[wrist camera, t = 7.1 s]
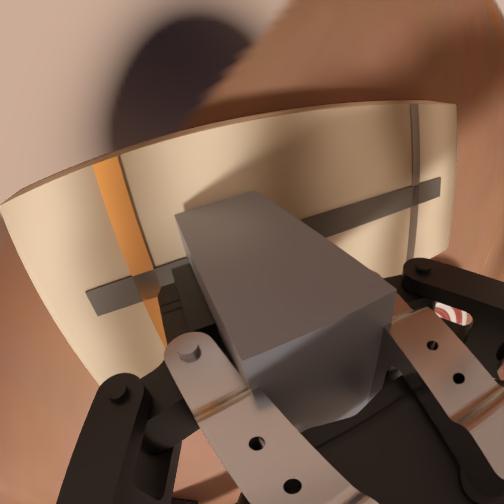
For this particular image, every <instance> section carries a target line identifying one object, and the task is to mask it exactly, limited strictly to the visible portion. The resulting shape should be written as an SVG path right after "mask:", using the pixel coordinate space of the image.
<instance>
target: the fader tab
mask: <svg viewBox="0 0 504 504" xmlns="http://www.w3.org/2000/svg"><path fill="white" fill-rule="evenodd" d="M174 216H175V220H176V223H177V226H178V230H179V233H180V237H181V240H182V243H183V247H184V250H185V253H186V257H187V260H188V263H190V265H191V267H192V269H193V272H194V274H195V277H196V279H197V281H198V284H199V286H200V288H201V291H202V293H203V295H204V298H205V300H206V302H207V305H208V307H209V309H210V311H211V314H212V316H213V318H214V320H215V322H216V325H217V328H218V331H219V334H220V337H221V340H222V343H223V346H224V349H225V352H226V355H227V358H228V360H229V361H230V362H231V363H232V365H233V366H234V367H235V369H236V370H237V371H238V372H239V374H240V375H241V377H242V379H243V381H244V383H245V385H246V387H249V388H250V390H251V391H252V390H254V389H257V388H260V389H261V390H262V391H263V392H264V394H265V395H266V396H267V397H268V398H269V399H270V400H271V402H272V403H273V404H274V405H275V406H276V407H277V408H278V409H279V411H280V412H281V413H282V414H283V415H284V416H285V417H286V418H287V419H288V421H289V422H290V423H291V424H292V425H293V426H294V427H295V428H296V429H297V430H298V431H299V432H300V433H301V432H303V431H305V430H307V429H309V428H312V427H316V426H320V425H324V424H327V423H331V422H335V421H338V420H342V419H345V418H349V417H352V416H354V415H356V414H357V413H358V412H359V411H360V410H361V409H362V408H364V407H365V406H366V405H367V403H368V399H369V395H370V391H371V387H372V382H373V378H374V373H375V369H376V364H377V359H378V354H379V349H380V344H381V338H382V332H383V327H384V326H386V325H388V324H390V323H392V317H393V311H394V305H395V298H396V291H397V289H396V288H394V287H393V286H392V285H390V284H389V283H388V282H386V281H385V280H384V279H382V278H381V277H380V276H378V275H377V274H376V273H374V272H373V271H371V270H370V269H369V268H367V267H366V266H365V265H363V264H362V263H360V262H359V261H358V260H356V259H355V258H353V257H352V256H351V255H349V254H348V253H346V252H345V251H344V250H342V249H341V248H339V247H338V246H336V245H335V244H334V243H332V242H331V241H329V240H328V239H326V238H325V237H324V236H322V235H321V234H319V233H318V232H316V231H315V230H313V229H312V228H310V227H309V226H308V225H306V224H305V223H303V222H302V221H300V220H299V219H297V218H296V217H294V216H293V215H291V214H290V213H288V212H287V211H285V210H284V209H282V208H281V207H279V206H278V205H276V204H275V203H273V202H272V201H270V200H268V199H267V198H265V197H264V196H262V195H261V194H259V193H258V192H256V191H252V192H248V193H245V194H241V195H238V196H234V197H231V198H227V199H224V200H220V201H217V202H214V203H210V204H207V205H204V206H200V207H197V208H194V209H191V210H187V211H184V212H181V213H178V214H175V215H174Z"/></svg>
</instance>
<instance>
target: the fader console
mask: <svg viewBox="0 0 504 504" xmlns="http://www.w3.org/2000/svg"><path fill="white" fill-rule="evenodd" d="M456 168H457V107H456V104H451V103H444V102H436V101H428V100H390V101H366V102H351V103H339V104H328V105H318V106H310V107H302V108H294V109H287V110H280V111H274V112H268V113H262V114H256V115H250V116H245V117H240V118H235V119H230V120H225V121H220V122H216V123H211V124H207V125H203V126H199V127H195V128H191V129H187V130H183V131H179V132H175V133H171V134H168V135H164V136H161V137H157V138H154V139H150V140H147V141H144V142H141V143H137V144H134V145H131V146H128V147H125V148H122V149H119V150H116V151H113V152H110V153H107V154H105V155H102V156H99V157H96V158H93V159H91V160H88V161H85V162H83V163H80V164H78V165H76V166H73V167H70V168H68V169H66V170H63V171H60V172H58V173H56V174H53V175H51V176H49V177H47V178H44V179H42V180H40V181H38V182H35V183H33V184H31V185H29V186H27V187H25V188H23V189H21V190H19V191H18V192H16V193H15V194H14V195H12V196H11V197H10V198H8V199H7V200H6V201H5V202H3V203H2V204H1V205H0V211H1V213H2V216H3V219H4V221H5V224H6V226H7V229H8V231H9V233H10V236H11V238H12V241H13V243H14V245H15V247H16V249H17V252H18V254H19V256H20V258H21V260H22V262H23V264H24V266H25V268H26V270H27V272H28V274H29V276H30V278H31V280H32V282H33V284H34V286H35V288H36V290H37V291H38V293H39V295H40V297H41V299H42V300H43V302H44V304H45V306H46V307H47V309H48V311H49V312H50V314H51V316H52V317H53V319H54V321H55V322H56V324H57V326H58V327H59V329H60V330H61V332H62V333H63V335H64V336H65V338H66V339H67V341H68V342H69V344H70V345H71V347H72V348H73V350H74V351H75V353H76V354H77V356H78V357H79V358H80V360H81V361H82V363H83V364H84V365H85V367H86V368H87V369H88V371H89V372H90V373H91V375H92V376H93V377H94V379H95V380H96V381H97V382H98V384H99V385H100V386H101V384H102V383H103V382H104V381H105V380H107V379H108V378H109V377H111V376H113V375H116V374H119V373H131V374H134V375H136V376H138V377H139V378H142V377H144V376H145V375H147V374H148V373H150V372H152V371H153V370H155V369H156V368H157V367H158V366H159V365H160V364H161V363H162V362H163V360H164V351H165V349H166V347H167V341H166V337H165V332H164V327H163V323H162V318H161V313H160V307H159V303H158V297H157V296H158V294H159V292H160V289H161V287H162V286H165V285H168V284H171V283H174V282H175V281H174V277H173V274H172V270H171V269H172V268H175V267H178V266H181V265H184V264H187V263H188V260H187V257H186V253H185V250H184V247H183V243H182V240H181V237H180V233H179V230H178V226H177V223H176V220H175V216H174V215H175V214H178V213H181V212H184V211H187V210H191V209H194V208H197V207H200V206H204V205H207V204H210V203H214V202H217V201H220V200H224V199H227V198H231V197H234V196H238V195H241V194H245V193H248V192H252V191H256V192H258V193H259V194H261V195H262V196H264V197H265V198H267V199H268V200H270V201H272V202H273V203H275V204H276V205H278V206H279V207H281V208H282V209H284V210H285V211H287V212H288V213H290V214H291V215H293V216H294V217H296V218H297V219H299V220H300V221H302V222H303V223H305V224H306V225H308V226H309V227H310V228H312V229H313V230H315V231H316V232H318V233H319V234H321V235H322V236H324V237H325V238H326V239H328V240H329V241H331V242H332V243H334V244H335V245H336V246H338V247H339V248H341V249H342V250H344V251H345V252H346V253H348V254H349V255H351V256H352V257H353V258H355V259H356V260H358V261H359V262H360V263H362V264H363V265H365V266H366V267H367V268H369V269H370V270H372V271H375V272H377V273H378V274H379V275H380V276H381V277H382V278H387V277H392V276H397V275H401V274H402V272H403V265H404V263H405V262H406V261H408V260H409V259H412V258H427V259H431V258H432V257H434V256H436V255H438V254H439V253H441V252H443V251H445V250H446V249H448V244H449V238H450V231H451V223H452V215H453V207H454V196H455V184H456Z"/></svg>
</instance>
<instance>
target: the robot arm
mask: <svg viewBox="0 0 504 504" xmlns="http://www.w3.org/2000/svg"><path fill="white" fill-rule="evenodd" d="M171 270H172V274H173V277H174V281H175V282H174V283H171V284H168V285H165V286H162V287H161V289H160V292H159V294H158V296H157V297H158V303H159V307H160V313H161V318H162V323H163V327H164V332H165V337H166V341H167V347H166V349H165V351H164V360H163V362H162V363H161V364H160V365H159V366H158V367H157V368H156V369H155V370H153V371H152V372H150V373H148V374H147V375H145V376H144V377H142V378H139V377H138V376H136V375H134V374H131V373H119V374H116V375H113V376H111V377H109V378H108V379H107V380H105V381H104V382H103V383H102V384H101V386H100V387H99V389H98V391H97V393H96V395H95V398H94V400H93V402H92V405H91V407H90V410H89V412H88V415H87V417H86V420H85V422H84V425H83V427H82V430H81V433H80V435H79V438H78V441H77V443H76V446H75V449H74V451H73V454H72V457H71V460H70V463H69V466H68V468H67V471H66V474H65V477H64V480H63V484H62V487H61V490H60V493H59V496H58V499H57V503H56V504H171V500H172V494H173V488H174V483H175V477H176V472H177V466H178V461H179V455H180V450H181V445H182V440H183V439H185V438H186V437H188V436H189V435H191V434H192V433H194V432H195V431H197V430H198V429H201V430H202V432H203V434H204V435H205V437H206V439H207V440H208V442H209V444H210V445H211V447H212V448H213V450H214V451H215V453H216V455H217V456H218V458H219V459H220V461H221V462H222V464H223V465H224V467H225V468H226V470H227V471H228V473H229V474H230V476H231V477H232V479H233V480H234V481H235V483H236V484H237V486H238V487H239V489H240V490H241V491H242V492H241V494H240V496H239V499H238V502H237V504H504V282H501V281H498V280H495V279H492V278H489V277H486V276H483V275H480V274H477V273H474V272H470V271H467V270H464V269H461V268H458V267H454V266H451V265H448V264H444V263H441V262H438V261H434V260H431V259H427V258H412V259H409V260H408V261H406V262H405V263H404V265H403V272H402V275H397V276H392V277H387V278H382V277H381V276H380V275H379V274H378V273H377V272H375V271H373V272H374V273H376V274H377V275H378V276H380V277H381V278H382V279H384V280H385V281H386V282H388V283H389V284H390V285H392V286H393V287H394V288H396V289H397V291H396V298H395V305H394V311H393V317H392V323H390V324H388V325H386V326H384V327H383V332H382V338H381V344H380V349H379V354H378V359H377V364H376V369H375V373H374V378H373V382H372V387H371V391H370V395H369V399H368V403H367V405H366V406H365V407H364V408H362V409H361V410H360V411H359V412H358V413H357V414H356V415H354V416H352V417H349V418H345V419H342V420H338V421H335V422H331V423H327V424H324V425H320V426H316V427H312V428H309V429H307V430H305V431H303V432H301V433H300V432H299V431H298V430H297V429H296V428H295V427H294V426H293V425H292V424H291V423H290V422H289V421H288V419H287V418H286V417H285V416H284V415H283V414H282V413H281V412H280V411H279V409H278V408H277V407H276V406H275V405H274V404H273V403H272V402H271V400H270V399H269V398H268V397H267V396H266V395H265V394H264V392H263V391H262V390H261V389H260V388H257V389H254V390H252V391H251V390H250V388H249V387H246V385H245V383H244V381H243V379H242V377H241V375H240V374H239V372H238V371H237V370H236V369H235V367H234V366H233V365H232V363H231V362H230V361H229V360H228V358H227V355H226V352H225V349H224V346H223V343H222V340H221V337H220V334H219V331H218V328H217V325H216V322H215V320H214V318H213V316H212V314H211V311H210V309H209V307H208V305H207V302H206V300H205V298H204V295H203V293H202V291H201V288H200V286H199V284H198V281H197V279H196V277H195V274H194V272H193V269H192V267H191V265H190V263H187V264H184V265H181V266H178V267H175V268H172V269H171ZM371 271H372V270H371ZM437 302H439V303H442V304H445V305H448V306H450V307H453V308H456V309H459V310H462V311H465V312H467V313H469V314H470V315H471V316H472V318H473V320H472V322H471V323H470V324H469V325H460V324H457V323H455V322H452V321H449V320H446V319H443V318H441V317H439V316H438V315H437V314H436V313H435V312H434V310H435V307H436V303H437ZM493 378H495V379H493ZM497 379H498V380H497Z"/></svg>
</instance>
